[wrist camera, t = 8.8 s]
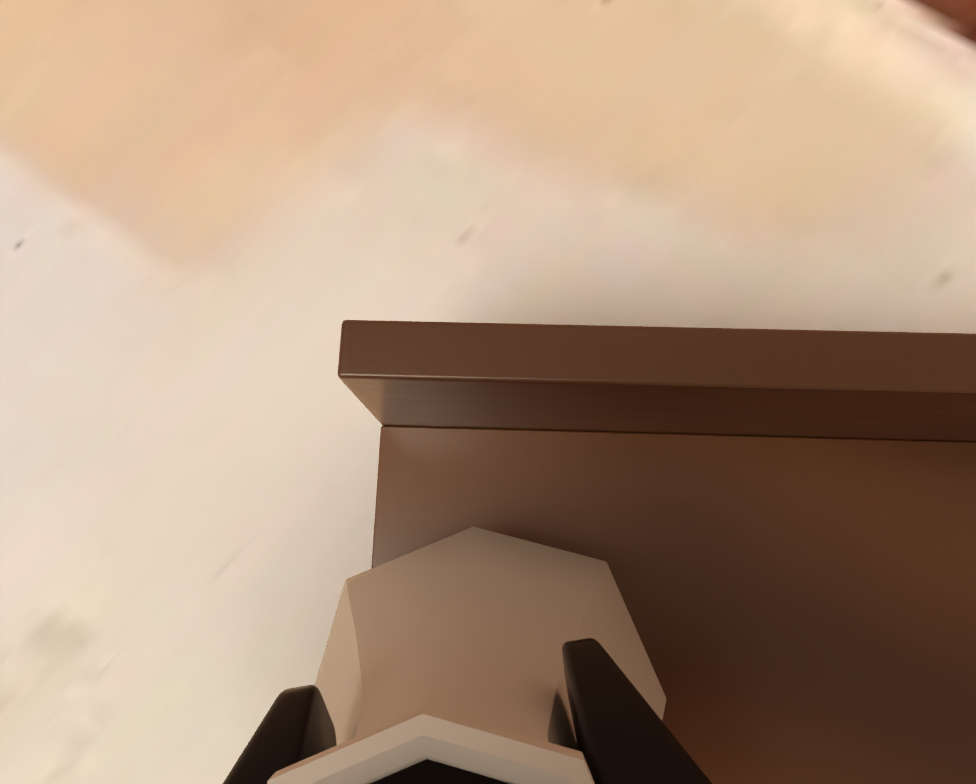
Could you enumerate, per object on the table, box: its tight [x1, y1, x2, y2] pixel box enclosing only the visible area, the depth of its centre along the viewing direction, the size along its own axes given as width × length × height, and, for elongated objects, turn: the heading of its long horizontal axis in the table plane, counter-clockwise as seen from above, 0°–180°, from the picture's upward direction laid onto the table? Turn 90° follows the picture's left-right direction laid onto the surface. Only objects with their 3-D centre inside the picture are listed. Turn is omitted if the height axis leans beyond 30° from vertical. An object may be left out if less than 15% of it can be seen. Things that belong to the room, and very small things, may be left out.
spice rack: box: [338, 320, 976, 784], centre depth 17 cm, size 12×19×9 cm, turn 88°
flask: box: [267, 527, 666, 784], centre depth 10 cm, size 7×7×10 cm
